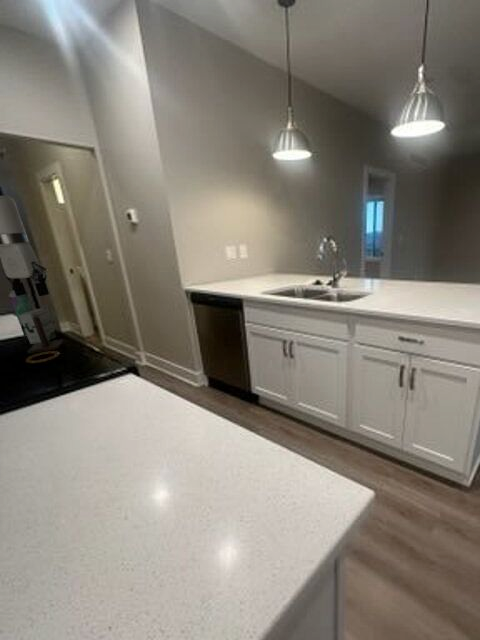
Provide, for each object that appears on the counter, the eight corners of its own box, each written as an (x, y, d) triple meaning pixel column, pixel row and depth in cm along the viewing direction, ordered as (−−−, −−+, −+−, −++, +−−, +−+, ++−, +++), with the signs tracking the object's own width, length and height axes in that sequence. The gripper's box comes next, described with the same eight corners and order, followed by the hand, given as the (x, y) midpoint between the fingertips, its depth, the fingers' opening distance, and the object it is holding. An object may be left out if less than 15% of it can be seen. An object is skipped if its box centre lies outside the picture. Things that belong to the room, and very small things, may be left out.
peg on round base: (28, 355, 119) (15, 323, 114) (36, 347, 127) (25, 316, 122) (58, 350, 122) (47, 319, 117) (64, 342, 129) (54, 313, 125)
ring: (22, 366, 109) (20, 363, 108) (31, 356, 117) (30, 353, 116) (56, 361, 112) (55, 357, 111) (63, 352, 120) (62, 348, 119)
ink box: (45, 337, 137) (35, 308, 133) (57, 336, 137) (47, 307, 133) (29, 344, 129) (17, 314, 125) (42, 344, 129) (30, 313, 125)
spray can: (37, 332, 145) (20, 284, 137) (42, 334, 142) (25, 285, 134) (22, 336, 141) (3, 287, 133) (27, 338, 138) (8, 288, 130)
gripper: (-21, 242, 105) (1, 297, 111) (22, 239, 100) (42, 297, 107) (4, 240, 111) (24, 292, 118) (45, 238, 107) (63, 292, 114)
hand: (32, 295), depth 112 cm, fingers open, 9 cm apart
